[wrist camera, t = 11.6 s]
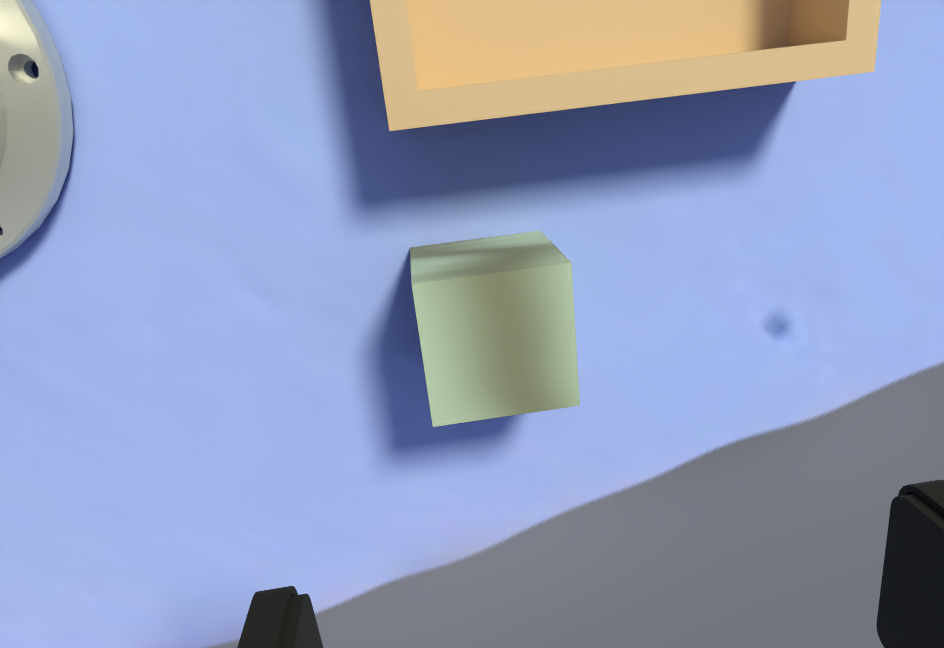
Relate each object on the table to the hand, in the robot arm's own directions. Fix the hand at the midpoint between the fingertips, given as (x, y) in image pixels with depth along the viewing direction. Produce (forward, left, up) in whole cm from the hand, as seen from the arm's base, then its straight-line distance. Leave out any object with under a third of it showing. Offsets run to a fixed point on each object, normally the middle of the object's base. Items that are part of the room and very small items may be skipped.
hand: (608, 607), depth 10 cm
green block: (0, 0, -16) cm, 16 cm away
